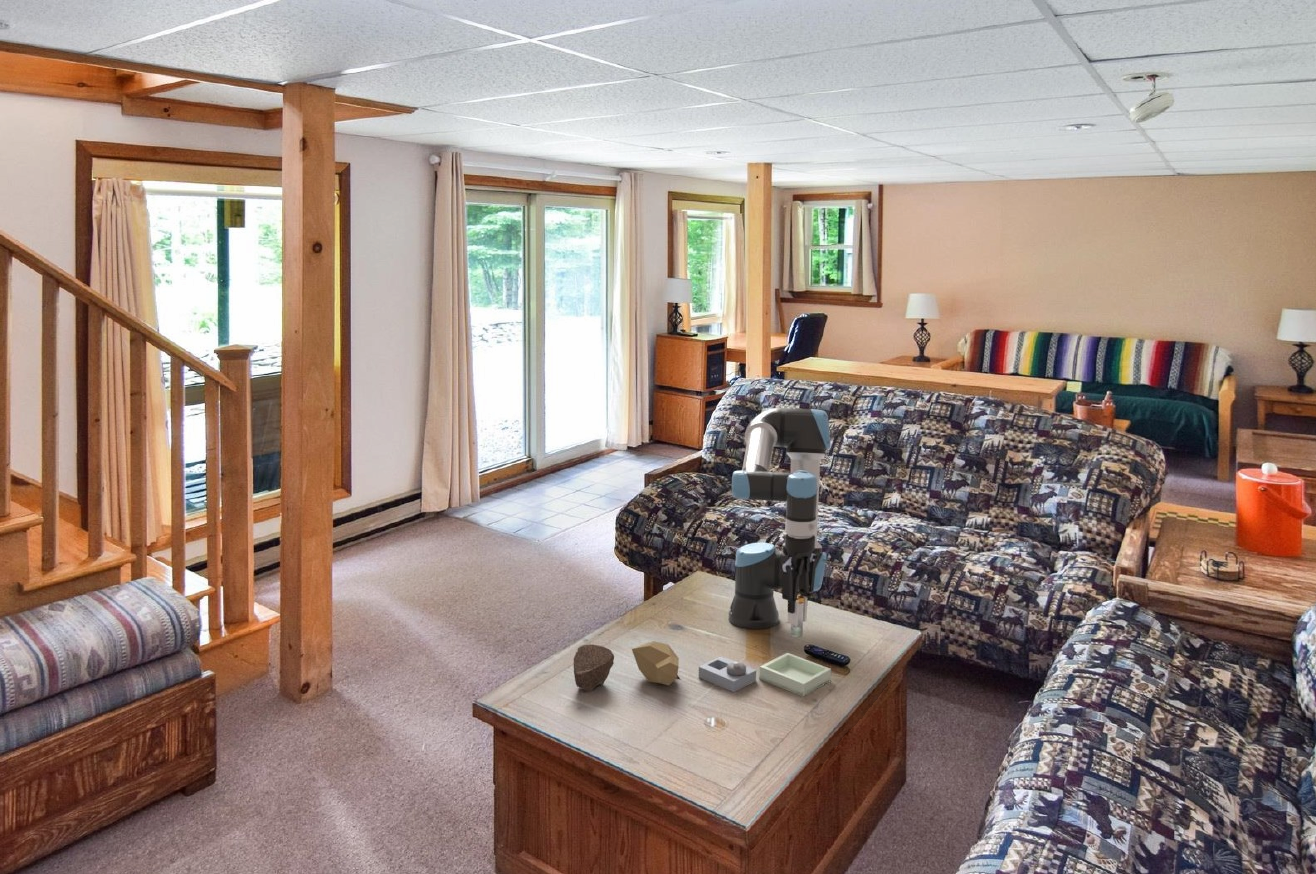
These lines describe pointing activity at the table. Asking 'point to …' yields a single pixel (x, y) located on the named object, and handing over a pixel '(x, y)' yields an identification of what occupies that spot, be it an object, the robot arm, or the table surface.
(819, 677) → the tray
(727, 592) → the table surface
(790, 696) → the table surface
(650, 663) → the low-poly potato
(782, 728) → the table surface
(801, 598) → the lock pin
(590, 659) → the rock
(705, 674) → the block
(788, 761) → the table surface
